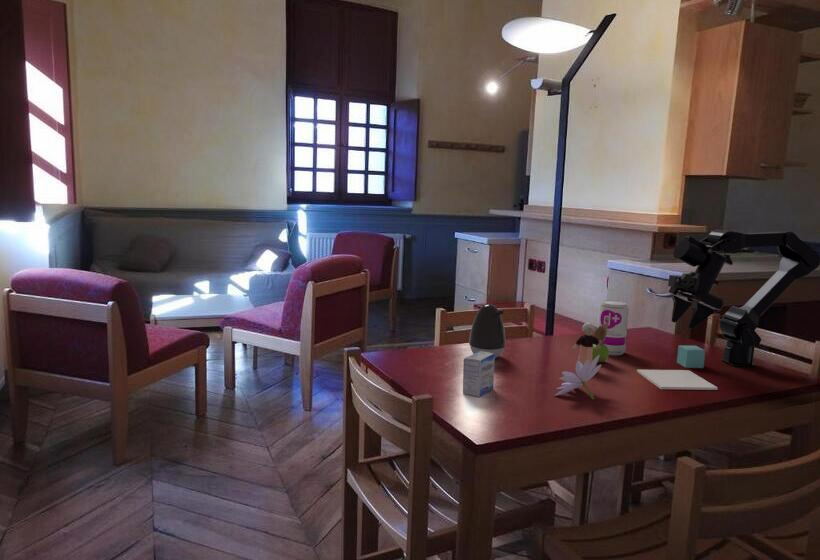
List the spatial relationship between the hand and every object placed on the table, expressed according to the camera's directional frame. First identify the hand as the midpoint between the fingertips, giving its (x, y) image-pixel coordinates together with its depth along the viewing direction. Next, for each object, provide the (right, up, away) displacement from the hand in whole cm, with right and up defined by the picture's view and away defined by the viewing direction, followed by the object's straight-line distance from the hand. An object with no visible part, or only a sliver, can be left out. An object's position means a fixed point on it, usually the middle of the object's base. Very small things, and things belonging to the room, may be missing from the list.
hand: (681, 325), depth 165 cm
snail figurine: (-22, -11, +3) cm, 24 cm away
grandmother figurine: (-28, -12, -5) cm, 30 cm away
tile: (-7, -13, -13) cm, 20 cm away
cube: (+3, -11, +2) cm, 12 cm away
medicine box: (-59, -14, -25) cm, 65 cm away
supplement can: (-15, -9, +13) cm, 22 cm away
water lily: (-36, -14, -25) cm, 46 cm away
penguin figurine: (-53, -10, +4) cm, 54 cm away
